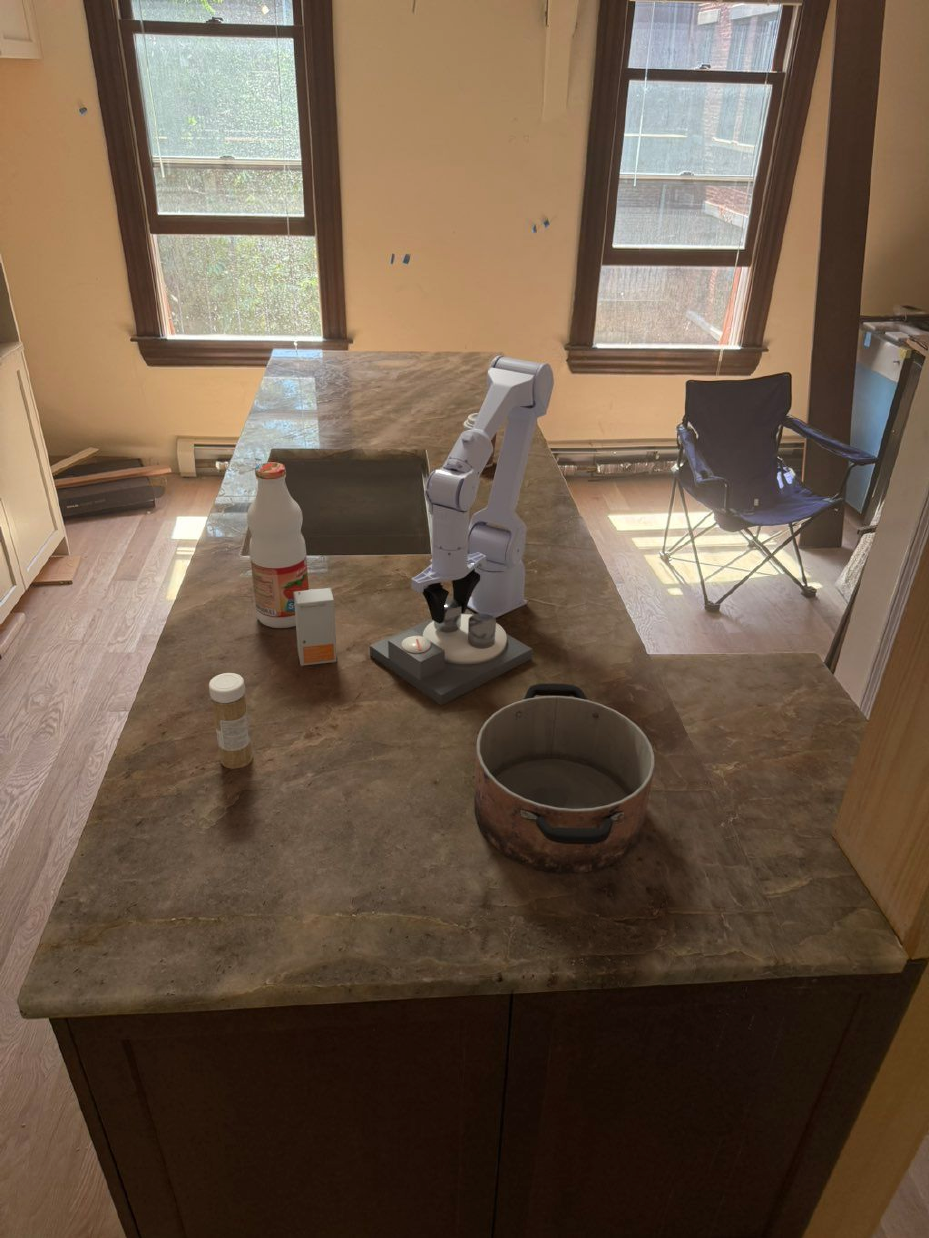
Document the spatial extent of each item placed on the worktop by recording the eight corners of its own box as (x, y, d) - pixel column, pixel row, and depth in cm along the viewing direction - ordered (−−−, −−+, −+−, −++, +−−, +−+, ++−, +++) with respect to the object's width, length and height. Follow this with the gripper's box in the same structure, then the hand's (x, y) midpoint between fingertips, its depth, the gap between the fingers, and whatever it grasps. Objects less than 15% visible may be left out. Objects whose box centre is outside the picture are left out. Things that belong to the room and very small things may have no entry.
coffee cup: (456, 459, 223) (457, 413, 217) (488, 455, 227) (490, 409, 220) (471, 472, 216) (473, 425, 210) (504, 467, 220) (507, 420, 213)
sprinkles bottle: (222, 749, 124) (211, 671, 117) (255, 748, 125) (245, 670, 118) (218, 771, 120) (205, 692, 113) (251, 769, 121) (241, 690, 114)
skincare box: (300, 667, 142) (295, 603, 136) (297, 653, 146) (292, 590, 139) (338, 662, 144) (334, 599, 137) (334, 648, 147) (330, 586, 141)
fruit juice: (265, 600, 160) (250, 455, 146) (316, 604, 159) (306, 458, 145) (250, 627, 152) (232, 476, 137) (303, 631, 151) (291, 480, 137)
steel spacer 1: (447, 615, 150) (448, 595, 148) (466, 625, 147) (467, 605, 145) (428, 624, 147) (428, 604, 145) (447, 635, 144) (447, 615, 142)
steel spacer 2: (481, 631, 148) (482, 610, 145) (500, 642, 145) (501, 621, 143) (462, 640, 145) (462, 619, 143) (480, 651, 142) (481, 631, 140)
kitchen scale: (459, 615, 157) (460, 586, 154) (531, 658, 146) (533, 628, 143) (370, 655, 146) (369, 624, 143) (441, 705, 134) (441, 673, 131)
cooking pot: (472, 737, 128) (475, 677, 123) (623, 740, 129) (633, 681, 123) (475, 900, 103) (478, 833, 97) (664, 903, 103) (678, 837, 98)
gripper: (466, 521, 146) (464, 592, 153) (398, 546, 137) (399, 620, 144) (496, 536, 141) (492, 608, 148) (427, 562, 133) (427, 638, 140)
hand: (448, 615), depth 146 cm, fingers closed on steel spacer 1, 4 cm apart
